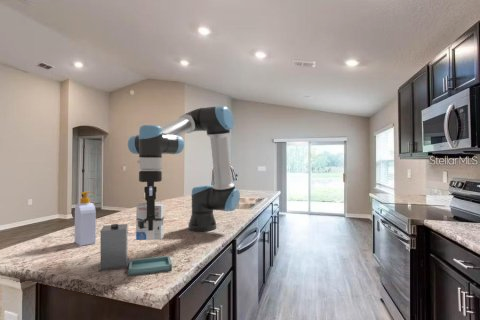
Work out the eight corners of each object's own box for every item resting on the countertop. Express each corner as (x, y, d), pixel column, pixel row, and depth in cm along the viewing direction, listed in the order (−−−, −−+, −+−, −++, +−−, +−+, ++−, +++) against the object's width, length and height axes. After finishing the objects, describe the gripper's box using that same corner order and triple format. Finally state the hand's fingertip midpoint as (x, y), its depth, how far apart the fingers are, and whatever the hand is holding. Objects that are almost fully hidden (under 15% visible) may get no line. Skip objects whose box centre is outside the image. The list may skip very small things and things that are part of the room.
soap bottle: (97, 243, 123) (97, 192, 123) (80, 246, 119) (80, 193, 119) (91, 239, 130) (91, 190, 130) (74, 242, 125) (74, 191, 125)
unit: (128, 258, 104) (128, 221, 104) (127, 267, 95) (127, 226, 95) (102, 261, 101) (102, 222, 101) (98, 271, 92) (98, 228, 92)
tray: (169, 260, 102) (169, 255, 102) (171, 270, 93) (171, 265, 93) (130, 265, 97) (130, 260, 97) (128, 275, 88) (128, 270, 88)
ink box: (135, 240, 92) (135, 205, 92) (139, 236, 97) (139, 203, 97) (161, 239, 93) (161, 204, 93) (164, 235, 98) (164, 202, 98)
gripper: (139, 169, 103) (139, 231, 103) (138, 171, 85) (138, 246, 85) (160, 169, 105) (160, 229, 105) (163, 171, 88) (163, 243, 87)
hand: (150, 236), depth 95 cm, fingers closed on ink box, 6 cm apart
